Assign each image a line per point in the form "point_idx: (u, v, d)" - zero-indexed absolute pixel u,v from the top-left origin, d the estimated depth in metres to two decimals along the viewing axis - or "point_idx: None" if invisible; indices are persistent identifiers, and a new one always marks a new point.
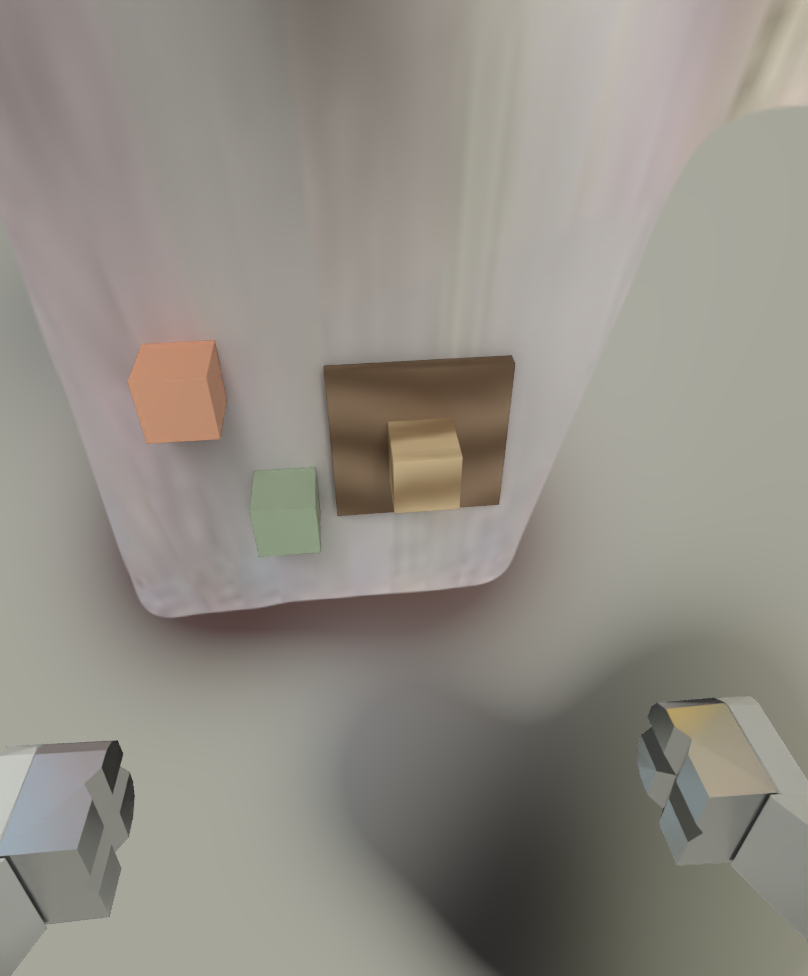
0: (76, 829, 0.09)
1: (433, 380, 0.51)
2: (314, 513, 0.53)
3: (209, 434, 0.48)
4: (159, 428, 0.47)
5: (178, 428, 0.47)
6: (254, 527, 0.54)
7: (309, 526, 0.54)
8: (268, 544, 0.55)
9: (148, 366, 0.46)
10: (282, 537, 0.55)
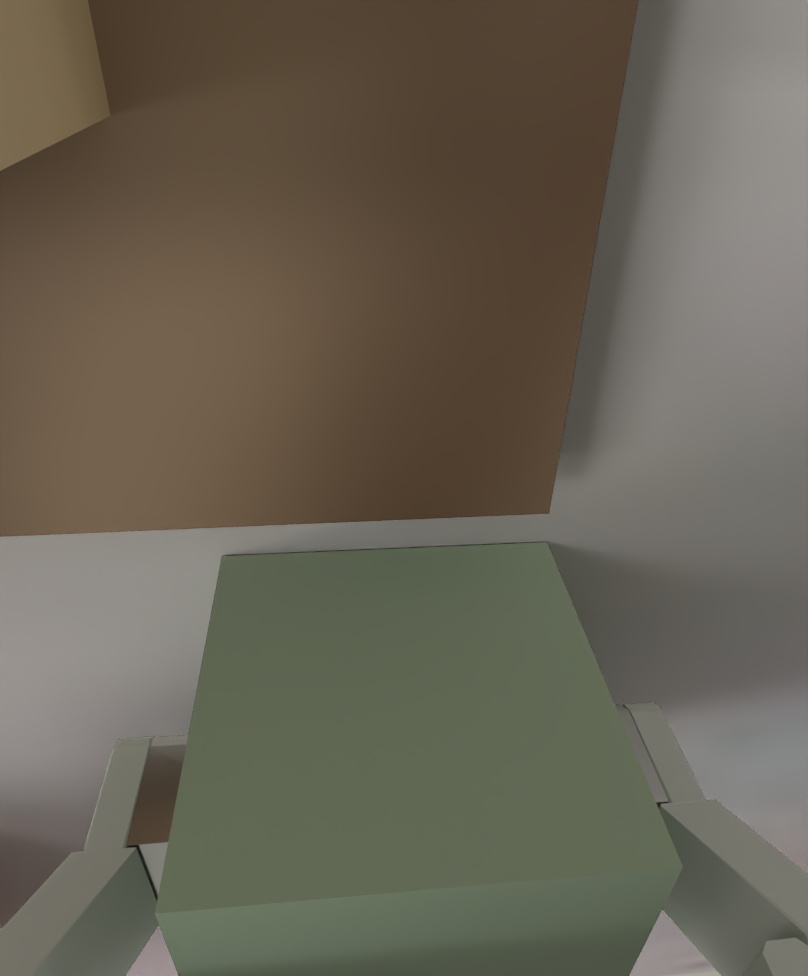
0: None
1: None
2: (228, 913, 0.06)
3: None
4: None
5: None
6: None
7: (376, 924, 0.07)
8: None
9: None
10: None
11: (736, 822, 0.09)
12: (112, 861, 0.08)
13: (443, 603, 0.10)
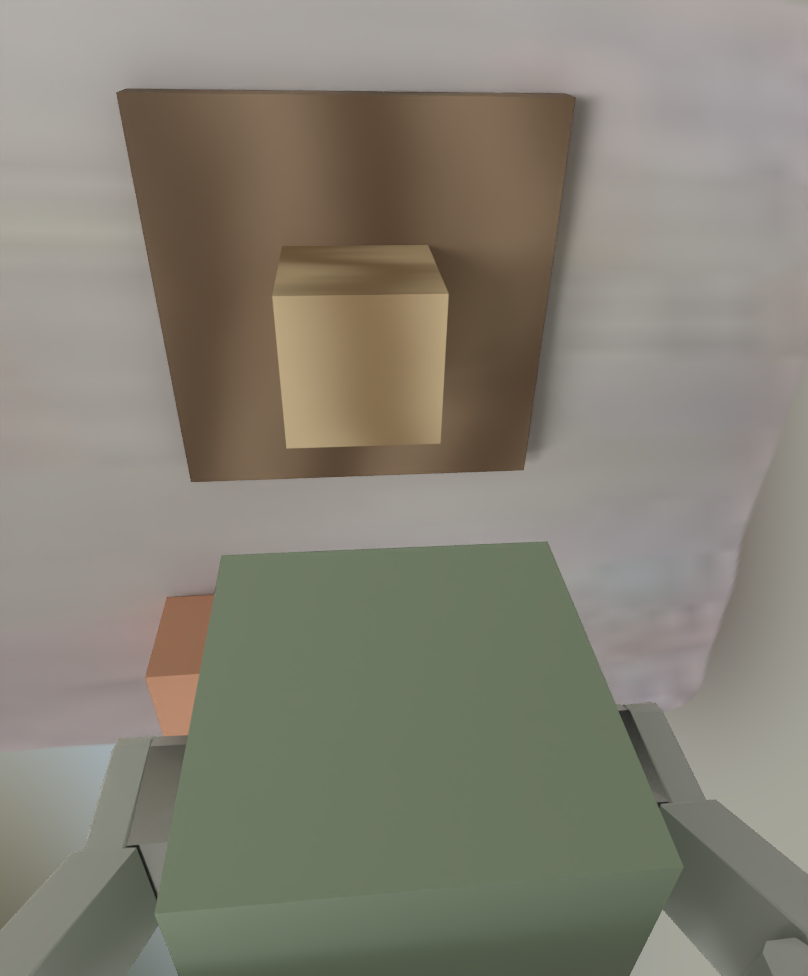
0: None
1: (184, 292, 0.24)
2: (228, 913, 0.06)
3: None
4: None
5: None
6: None
7: (377, 925, 0.07)
8: None
9: None
10: None
11: (736, 823, 0.09)
12: (112, 861, 0.08)
13: (443, 602, 0.10)
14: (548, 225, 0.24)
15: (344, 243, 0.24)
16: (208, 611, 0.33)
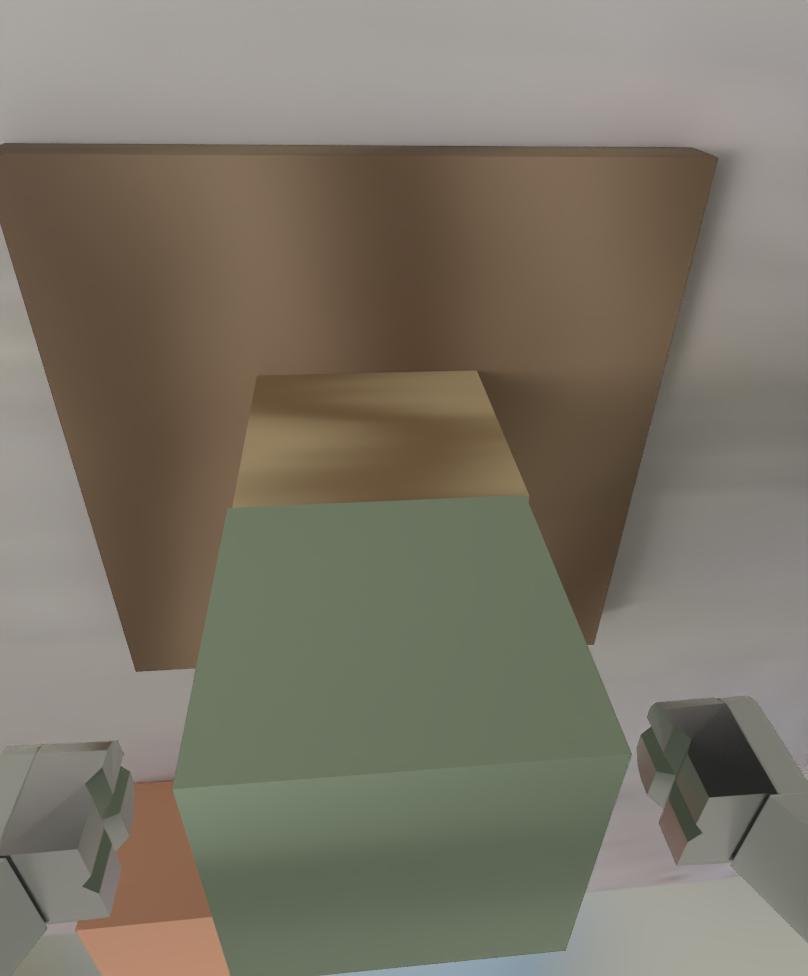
0: (77, 829, 0.09)
1: (111, 440, 0.16)
2: (235, 790, 0.07)
3: None
4: (216, 969, 0.24)
5: (214, 953, 0.23)
6: (347, 969, 0.10)
7: (365, 807, 0.08)
8: (484, 930, 0.10)
9: None
10: (437, 895, 0.09)
11: None
12: None
13: (428, 546, 0.11)
14: (657, 341, 0.16)
15: (351, 370, 0.16)
16: (167, 809, 0.25)
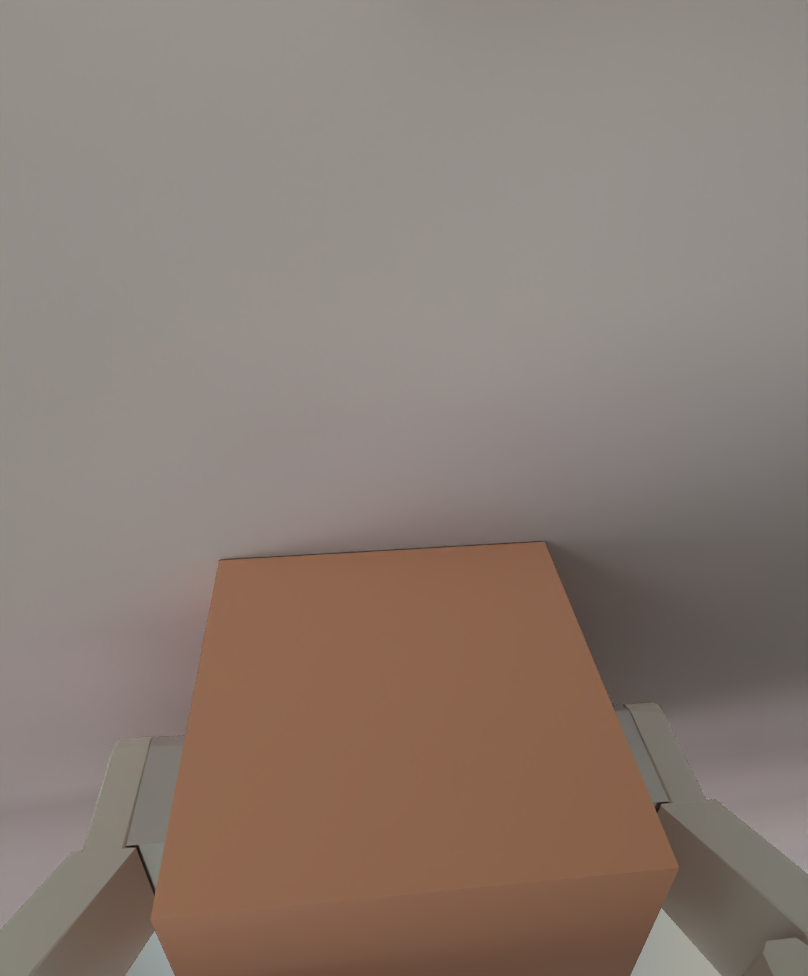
0: None
1: None
2: None
3: (621, 904, 0.07)
4: None
5: None
6: None
7: None
8: None
9: None
10: None
11: (736, 823, 0.09)
12: (112, 861, 0.08)
13: None
14: None
15: None
16: (365, 609, 0.10)
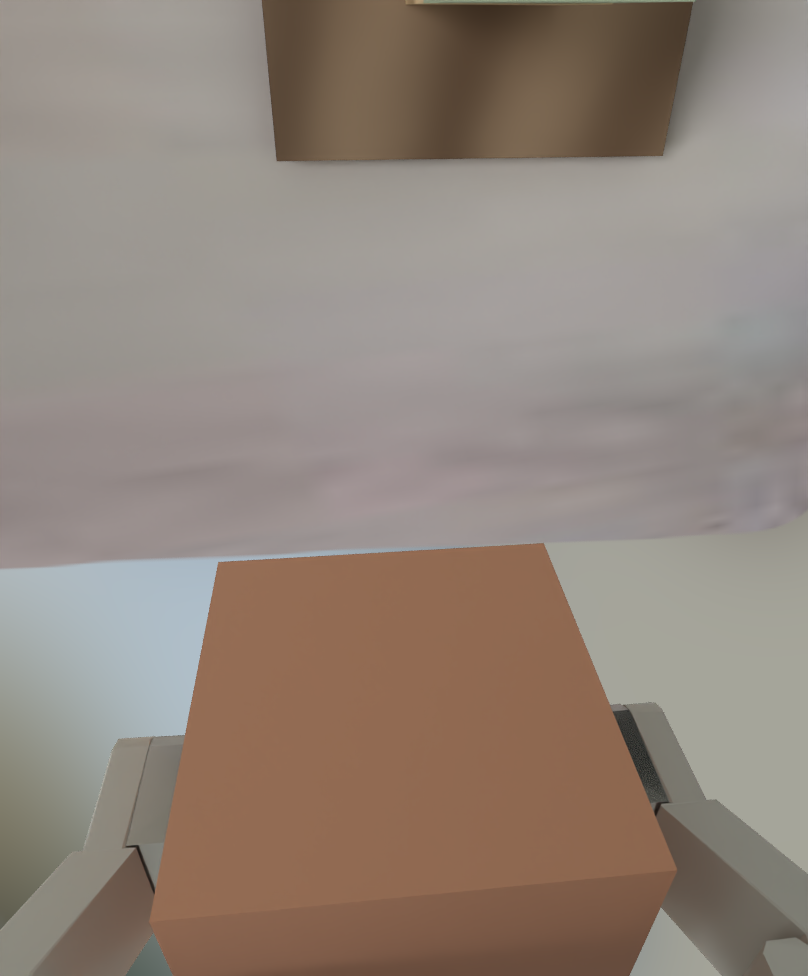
0: None
1: None
2: None
3: (620, 906, 0.07)
4: None
5: None
6: None
7: None
8: None
9: None
10: None
11: (736, 823, 0.09)
12: (112, 861, 0.08)
13: None
14: None
15: None
16: (364, 611, 0.10)
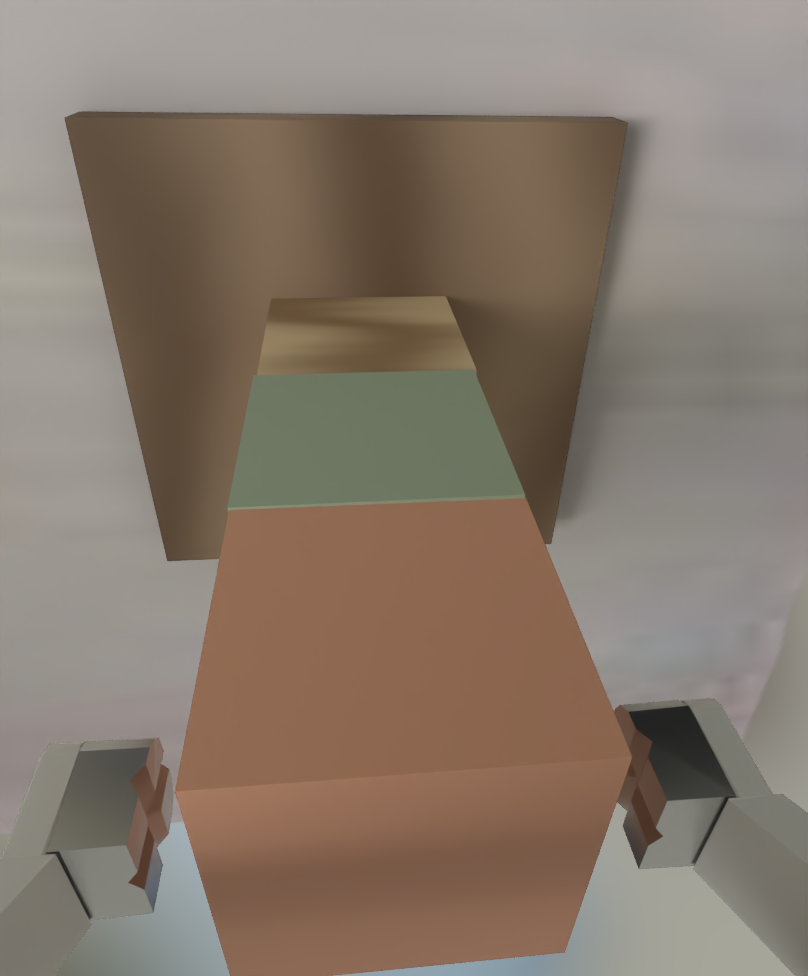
0: (124, 825, 0.09)
1: (155, 352, 0.20)
2: None
3: (583, 793, 0.08)
4: (493, 925, 0.10)
5: (509, 881, 0.09)
6: None
7: None
8: None
9: None
10: None
11: (804, 817, 0.09)
12: (30, 868, 0.08)
13: (399, 396, 0.15)
14: (589, 273, 0.20)
15: (346, 295, 0.20)
16: (362, 552, 0.11)
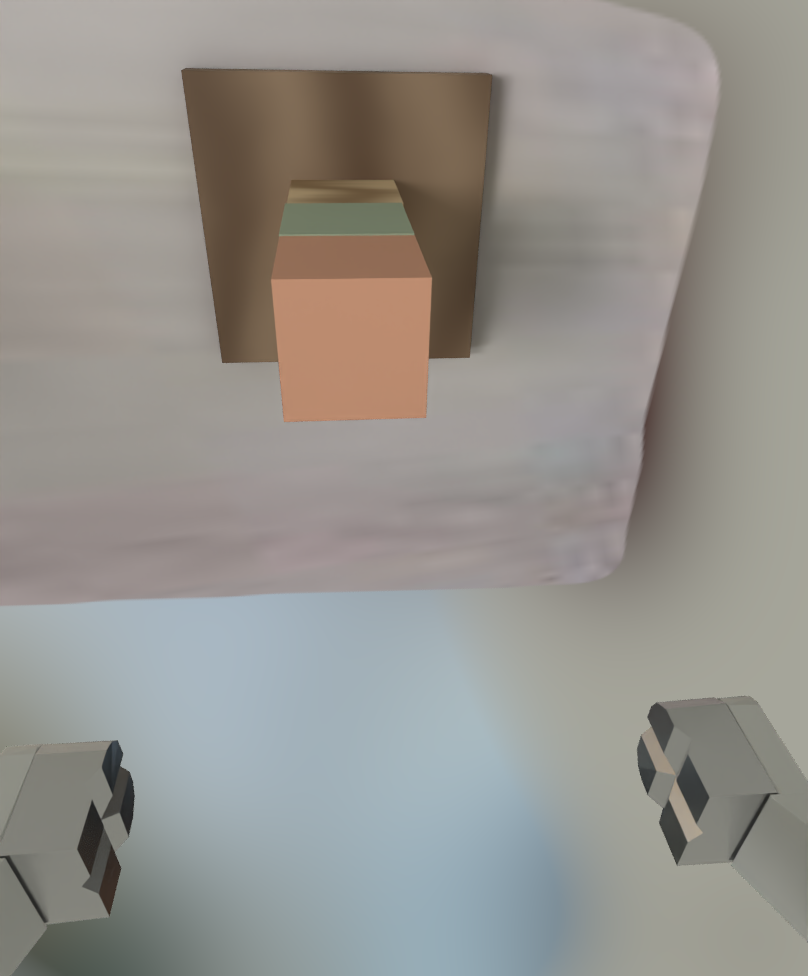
0: (76, 829, 0.09)
1: (222, 213, 0.34)
2: None
3: (417, 297, 0.22)
4: (392, 389, 0.24)
5: (395, 355, 0.23)
6: None
7: None
8: None
9: None
10: None
11: None
12: None
13: (361, 209, 0.29)
14: (478, 166, 0.34)
15: (335, 178, 0.34)
16: (338, 245, 0.24)
